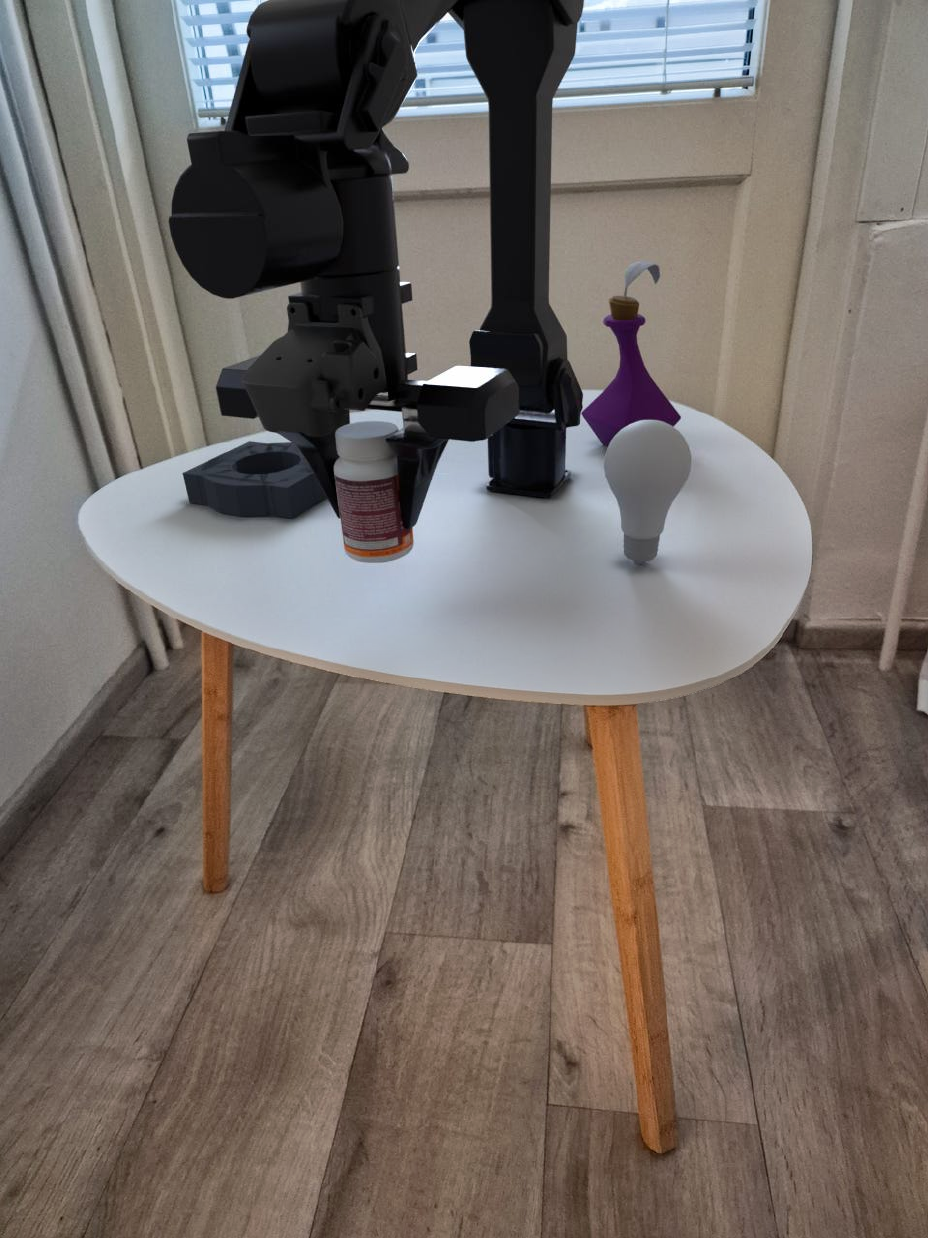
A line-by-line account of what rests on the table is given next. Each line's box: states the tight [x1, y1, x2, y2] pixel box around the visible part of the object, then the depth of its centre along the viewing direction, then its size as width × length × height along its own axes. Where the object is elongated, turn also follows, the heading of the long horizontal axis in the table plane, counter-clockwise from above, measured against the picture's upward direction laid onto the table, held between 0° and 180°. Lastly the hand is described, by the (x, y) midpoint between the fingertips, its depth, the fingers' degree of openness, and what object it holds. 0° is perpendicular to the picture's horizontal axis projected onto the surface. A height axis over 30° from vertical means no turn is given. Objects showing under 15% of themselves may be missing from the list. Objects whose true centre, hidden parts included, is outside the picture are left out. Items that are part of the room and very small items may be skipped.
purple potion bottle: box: [581, 261, 682, 447], centre depth 80 cm, size 8×8×18 cm
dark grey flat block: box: [182, 440, 327, 520], centre depth 77 cm, size 12×12×3 cm
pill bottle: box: [334, 420, 415, 564], centre depth 52 cm, size 5×5×8 cm
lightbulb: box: [603, 420, 692, 565], centre depth 58 cm, size 6×6×11 cm
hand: (376, 521), depth 53 cm, fingers closed on pill bottle, 5 cm apart
